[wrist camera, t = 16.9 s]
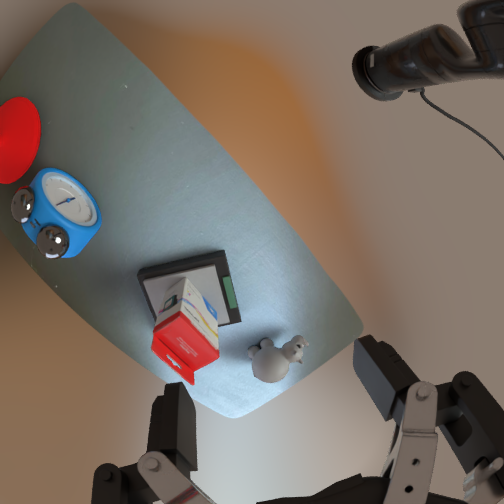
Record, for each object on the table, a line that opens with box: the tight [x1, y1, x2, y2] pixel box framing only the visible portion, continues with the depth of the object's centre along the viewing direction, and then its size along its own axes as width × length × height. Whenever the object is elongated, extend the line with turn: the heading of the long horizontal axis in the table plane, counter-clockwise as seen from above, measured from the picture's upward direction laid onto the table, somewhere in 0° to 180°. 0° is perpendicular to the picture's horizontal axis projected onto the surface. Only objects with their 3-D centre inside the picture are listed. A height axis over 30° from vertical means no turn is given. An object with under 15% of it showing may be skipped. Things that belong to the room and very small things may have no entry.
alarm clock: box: [11, 168, 102, 259], centre depth 31 cm, size 13×6×15 cm, turn 39°
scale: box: [137, 250, 242, 327], centre depth 45 cm, size 15×13×3 cm
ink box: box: [151, 277, 219, 385], centre depth 37 cm, size 8×5×15 cm, turn 33°
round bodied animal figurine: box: [247, 335, 309, 383], centre depth 49 cm, size 7×12×8 cm, turn 121°
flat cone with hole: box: [0, 97, 41, 184], centre depth 28 cm, size 16×16×7 cm
